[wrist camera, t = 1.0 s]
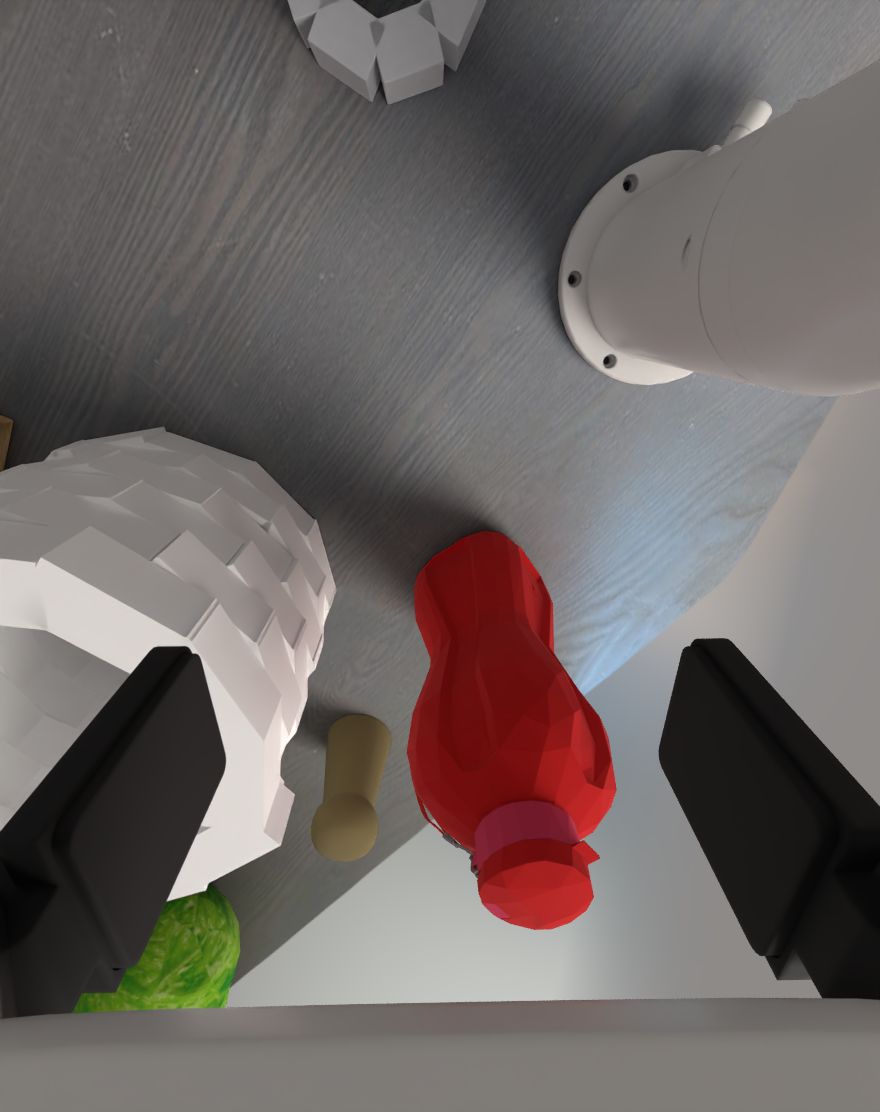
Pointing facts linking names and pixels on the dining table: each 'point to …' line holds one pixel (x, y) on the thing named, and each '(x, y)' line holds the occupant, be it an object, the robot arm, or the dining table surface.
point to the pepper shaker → (351, 788)
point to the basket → (159, 615)
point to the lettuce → (179, 960)
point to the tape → (387, 43)
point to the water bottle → (506, 734)
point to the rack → (4, 439)
